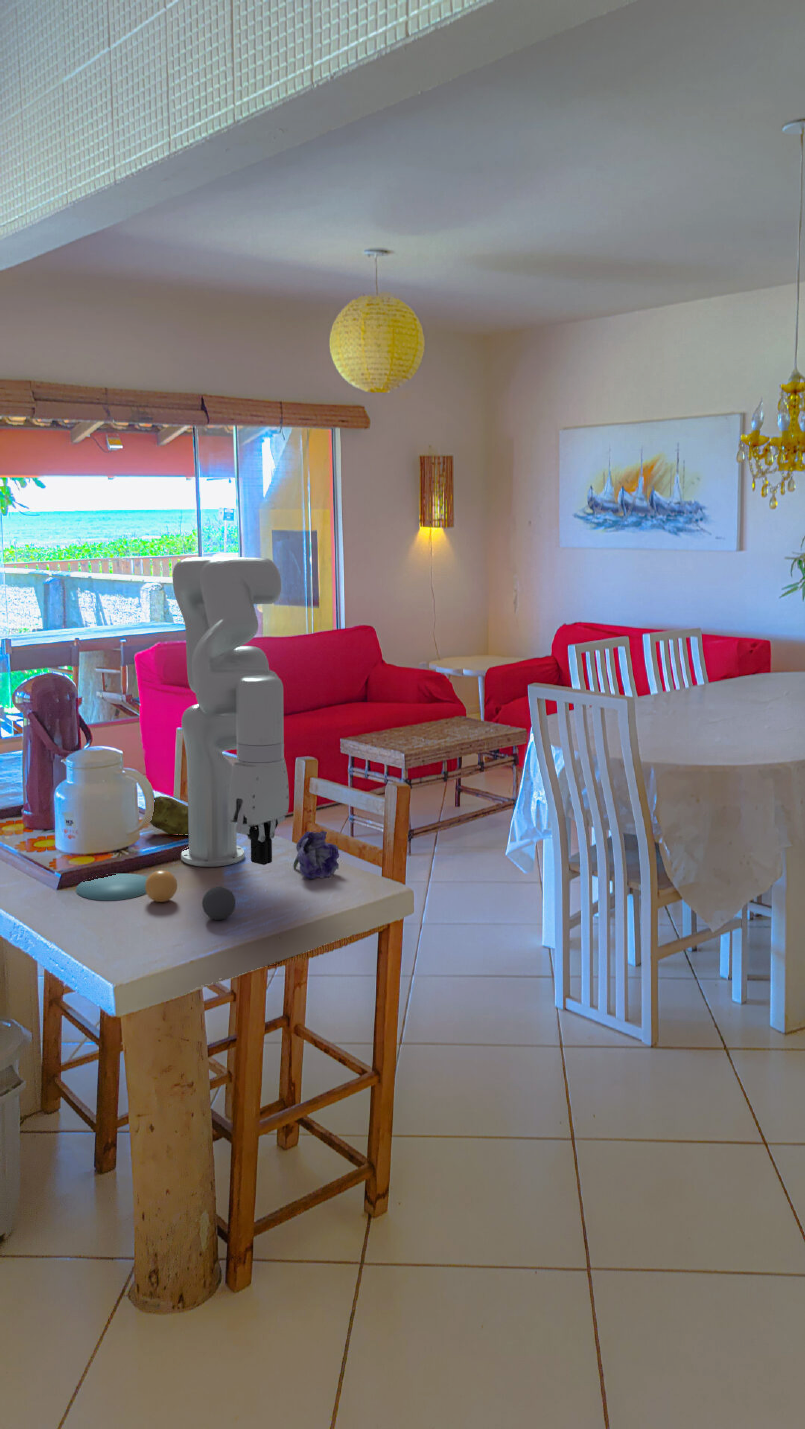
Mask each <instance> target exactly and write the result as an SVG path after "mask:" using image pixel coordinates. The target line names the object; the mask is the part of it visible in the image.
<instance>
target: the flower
mask: <svg viewBox="0 0 805 1429" xmlns="http://www.w3.org/2000/svg"><path fill="white" fill-rule="evenodd" d="M326 839H327V831H325V830H322V831H320V832H319V831H317V832H316V831H310V830H309V831H308V830H307V831H305V833H304V834H303V835H302V837H301V838H300V839H299V840H298V841H297V843H296V846H295V849H296V854H297V855H296V857H295V859H294V861H293V864H292V867H293V869H294V870H296V869H297V867H298V864H299V869H298V870H299V872H300V873H301V875H303V876H304V877H305V878H306V879H308V880H312V879H315V878H320V877H322V878H321V879H324V878H325V877H326V878H330V876H331V875H334V874H335V871H336V870H339V868H340V866H339V863H338V859H339V857H340V852H339V845H337V844H335V843H329V842H326Z"/></svg>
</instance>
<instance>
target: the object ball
mask: <svg viewBox="0 0 805 1429" xmlns="http://www.w3.org/2000/svg"><path fill="white" fill-rule="evenodd" d="M147 877H148V878H147V880H146V883H145V890H146V895H147V897H148V898H149V899H151V901H154V902H157V903H164V902H167V901H169V900H171V899H172V898H173V897H174V896H175V895H176V893H177V891H178V890H177V889H178V882H177V879H176V877H175V876H174V875H173V874H172V872H170V871H167V870H160V869H159V870H155V871H153V872H152V873H150V874H149V875H148V876H147Z"/></svg>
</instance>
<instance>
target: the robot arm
mask: <svg viewBox="0 0 805 1429" xmlns="http://www.w3.org/2000/svg"><path fill="white" fill-rule="evenodd" d="M172 569H173V570H172V587H173V592H174V597H175V600H176V603H177V605H178V608H179V610H180V613H181V616H182V618H183V619H182V620H183V622H184V628H185V648H186V653H185V654H186V670H187V671H186V672H187V682H188V686H189V688H190V690H191V691H192V692H193V693H195V698H196V702H197V703H196V704H193V705H191V706H189V707H187V708H186V709H185V710H184V711H183V714H182V716H181V730H182V738H183V742H184V748H185V756H186V774H187V778H186V779H187V780H186V781H187V806H188V847H189V849H187V850H184V849H183V850H184V851H183V850H182V851H181V853H180V859H181V861H182V862H183V863H185V864H188V865H191V866H195V867H205V868H213V867H214V868H215V867H217V868H218V867H224V866H229V865H233V864H236V863H239V862H241V861H242V860H243V859H244V858H245V850H244V848H243V847H241V846H239V845H238V843H237V842H238V841H237V840H238V839H237V835H238V834H241V835H246V836H247V839H248V840H250V862H252V863H254V864H259V865H262V866H266V865H268V864H272V862H273V839H274V838H275V834H276V829H277V827H278V826H279V825H280V824H282V823H283V822H284V821H285V819H286V815H287V813H288V812H289V808H290V807H289V806H290V805H289V804H290V794H289V792H290V791H289V778H288V771H287V770H288V769H287V764H286V759H285V756H284V755H285V754H284V753H285V752H284V751H285V750H284V749H285V742H284V739H285V738H284V735H285V734H284V731H285V730H284V729H285V728H284V684H283V682H282V679H281V678H280V677H279V676H278V674H277V673H276V672H275V671H273V670H271V669H270V666H269V660H268V658H267V655H266V653H265V652H264V651H263V650H262V649H261V648H260V647H256V646H253V645H246V644H248V643H249V642H250V641H251V640H252V639H253V638H255V636H257V633H258V630H259V620H258V617H257V613H256V608H255V605H272V604H275V603H276V602H277V601H278V599H279V598H280V595H281V593H282V579H281V574H280V571H279V568H278V567H277V565H276V564H275V562H274V561H273V560H271V559H270V558H267V557H246V556H244V557H241V556H238V557H237V556H233V557H232V556H230V557H229V556H226V557H225V556H195V557H194V556H193V557H188V558H187V557H186V558H185V559H181V560H179V561H177V562H176V564H175V565H174V567H173V568H172ZM231 750H236V762H235V763H233V764H232V763H231V762H230V760H229V759H227V757H225V755H224V754H223V752H225V751H231Z"/></svg>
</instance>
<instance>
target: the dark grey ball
mask: <svg viewBox="0 0 805 1429" xmlns="http://www.w3.org/2000/svg"><path fill="white" fill-rule="evenodd" d="M201 904H202V905H201V906H202V910H203V912H204V913H205V915H206V916H207V917H209V919H212V920H216V921H218V920H219V921H220V920H224V919H226V918H228V917H230V916H231V915H232V913H233V912H234V911H235V908H236V898H235V895H234V893H233V892H232V891H231V890H230V889H229V888H227V887H224V886H214V887H211V888H210V889H208V890H207V891H206V892H205V893H204V895H203V898H202V901H201Z"/></svg>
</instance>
